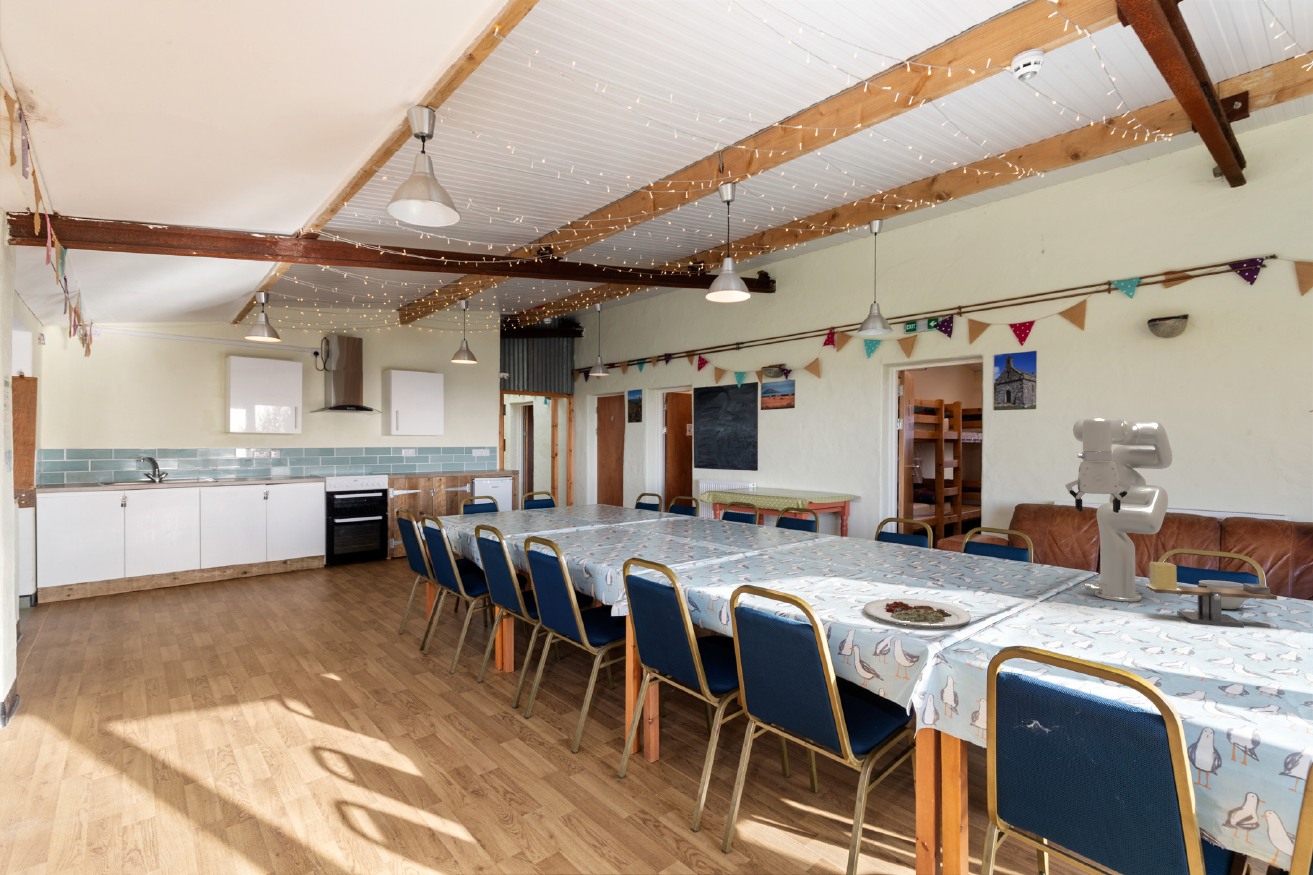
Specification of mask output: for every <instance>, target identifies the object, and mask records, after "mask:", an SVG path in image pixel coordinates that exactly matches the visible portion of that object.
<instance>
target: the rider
mask: <svg viewBox="0 0 1313 875" xmlns="http://www.w3.org/2000/svg"><path fill="white" fill-rule="evenodd" d="M1177 574H1178V573H1177V565H1176V564H1173V563H1171V562H1162V561H1160V562H1159V561H1149V584H1150V585H1151V586H1153V587H1154V588H1156V589H1174V590H1177V586H1178V580H1177V577H1178V576H1177Z"/></svg>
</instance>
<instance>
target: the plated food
mask: <svg viewBox="0 0 1313 875" xmlns="http://www.w3.org/2000/svg"><path fill="white" fill-rule="evenodd" d="M863 611H864V612H866V614H868V615H870V616H872V617H874V618H876V619H880V620H884V621H886V622H888V621H890V622H889V623H892V622H893V623H892V624H896V623H899V624H898V625H901V624H906V625H905V626H907V625H911V626H910V627H915V626H920V627H919V628H942V627H941V626H946V627H952V626H953V627H954V626H958V625H963V624H966V623H968V622H969V621H971V619H972V615H971V613H970V612H969V611H967V610H965V609H963V608H962V607H959V606H956V605H951V604H948V603H944V602H938V601H933V600H924V599H916V598H915V599H914V598H883V599H877V600H872V601H869V602H867V603H866V604H864V606H863ZM945 611H946V612H945ZM899 621H910V622H899ZM947 623H948V624H947ZM922 624H930V625H922ZM931 624H943V625H931Z"/></svg>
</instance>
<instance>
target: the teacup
mask: <svg viewBox="0 0 1313 875" xmlns="http://www.w3.org/2000/svg"><path fill="white" fill-rule="evenodd" d="M1198 585H1207V588H1223V589H1242V590H1243V583H1240V582H1234V581H1226V580H1211V579H1207V580H1204V579H1203V580H1202V579H1201V580H1199V581H1198ZM1249 599H1250V598H1238V597H1222V599H1221V610H1222V609H1223V610H1224V609H1225V610H1236V609H1238V608H1239V607H1241V606H1243V604H1244V603H1245V601H1247V600H1249Z"/></svg>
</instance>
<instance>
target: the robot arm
mask: <svg viewBox="0 0 1313 875" xmlns="http://www.w3.org/2000/svg"><path fill="white" fill-rule="evenodd" d="M1072 432H1073V436H1074V438H1075V440H1077V441H1078V442H1082V452H1081V453H1078V454H1077V458H1078V459H1082V461H1080V463H1079V468H1078V475H1077V479H1075V480H1073V481H1070V482H1069V483H1066V484H1064V486H1065V488H1066V490H1067V491H1068V493H1069V494H1070V495H1071V496H1072V497H1073V498H1074V500H1075V501H1074V504H1075V506H1074V507H1075V509H1076V510H1077V512H1081V513H1082V512H1083V499H1082V497H1083V496H1084V495H1085V494H1089V495H1091V494H1093V495H1094V494H1098V495H1100V494H1102V495H1109V499H1108V500H1109V502H1107V503H1103V504H1101V505H1100V506H1098V507H1097V510H1096V519H1097V520H1096V521H1097V524H1098V526H1097V527H1098V530H1099V545H1100V546H1099V547H1100V548H1099V549H1100V550H1099V554H1100V556H1099V557H1100V562H1099V564H1100V566H1099V567H1100V568H1099V569H1100V580H1097V582H1095V583H1088V582H1087V583H1086V582H1084V583H1083V588H1084V589H1085V590H1091V591H1095V592H1094V596H1096V597H1099V598H1101V599H1104V600H1109V601H1117V602H1129V603H1131V602H1132V603H1133V602H1134V603H1135V602H1140V601H1142V596H1141V595H1140V594H1138V593H1136V546H1135V544H1134V541H1133V540H1132V539H1131V538H1130V536H1129V535H1128V534H1129V533H1130V534H1140V535H1141V534H1143V535H1154V534H1157V533H1158V532H1160V529H1161V528H1162V526H1163V522H1164V518H1165V516H1166V513H1167V510H1168V506H1169V497H1168V496H1169V495H1168V492H1167V491H1166V489H1165V488H1163V487H1162V486H1159V485H1153V484H1150V485H1149V484H1147V481H1146V478H1144V476H1143V475H1142V474H1141V473H1140V472H1138V471H1137V470H1135V469H1143V470H1144V469H1147V470H1149V469H1152V470H1163V469H1167V468H1169V467H1170V466H1171V465H1172V462H1173V451H1172V448H1171V444H1170V441H1169V437H1168V434H1167V432H1166V429H1165V427H1164V425H1162V423H1161V422H1159V421H1156V420H1142V421H1141V420H1139V421H1138V420H1137V421H1129V420H1124V419H1120V418H1118V417H1100V418H1099V417H1096V418H1094V417H1093V418H1091V417H1090V418H1080V419H1078V420H1076V421H1075V422H1074V424H1073V427H1072ZM1113 445H1118V446H1117V447H1115V448H1114V449H1113V448H1112V446H1113ZM1074 486H1077V492H1076V491H1074V489H1073V487H1074ZM1127 533H1128V534H1127Z"/></svg>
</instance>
